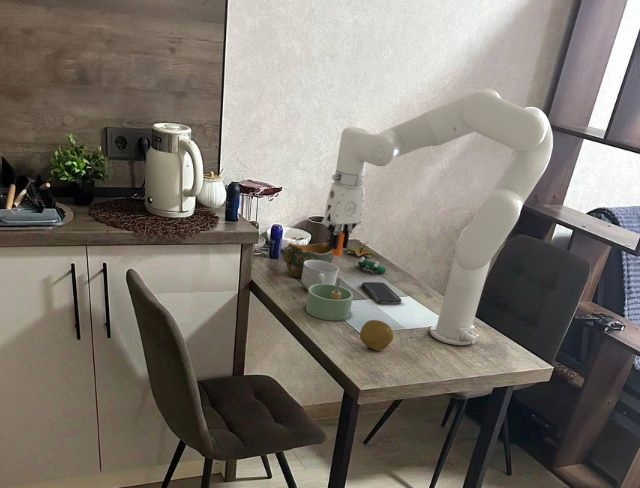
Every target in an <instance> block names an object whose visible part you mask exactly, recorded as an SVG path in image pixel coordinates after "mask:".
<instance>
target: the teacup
mask: <svg viewBox="0 0 640 488" xmlns="http://www.w3.org/2000/svg"><path fill="white" fill-rule="evenodd" d="M339 270H340V268H339V267H338V266H337V265H336V264H334V263H332V262H331V263H328V262H325V261H320V260H307V261H305V262H304V266H303V272H302V278H301V283H302V285H303V287H304V288H305V289H306V290H307V291H308V289H309V287H310V286H312V285H315V284H333V285H336V283H337V279H338V278H337V277H338V274H339Z"/></svg>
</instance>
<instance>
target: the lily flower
mask: <svg viewBox="0 0 640 488" xmlns="http://www.w3.org/2000/svg"><path fill="white" fill-rule="evenodd" d="M357 241H358V244H356V246H350V247H347V248H346V250H348V251H347V252H346V254H354V255H356V256H357V257H361V256H363V257H367V258H372V255H375V256H377V254H376V253H375V250H372V249H368V243H369V242H368V240H367V241H366V242H364V243H362V242H361V240H360V239H358V240H357ZM363 241H364V239H363Z"/></svg>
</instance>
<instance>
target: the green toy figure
mask: <svg viewBox="0 0 640 488" xmlns="http://www.w3.org/2000/svg"><path fill="white" fill-rule="evenodd" d="M357 266H359V267H361V268H362V270H363V271H367V270H369V271H370V273H371V274H374V273H379V274H383V273H386V272H387V269H386V267H385V266H383V265H380V263H379V261H378V260H377V261H375V262H374V261H371V260H367V259H366V258H365V256H361V257H360V258H359V259H358V265H357Z"/></svg>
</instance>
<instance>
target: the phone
mask: <svg viewBox="0 0 640 488" xmlns="http://www.w3.org/2000/svg"><path fill="white" fill-rule="evenodd" d="M361 288H362V289H364V291H365V292H366V293H367V294H369V296H370V297H371V298H372V299H373V300H374V301H375V302H376V303H377V304H379V305H400V304H401V303H402V298H401V297H400V296H398V295H397V293H396V292H394V291H393V290H392V289H391V288H390V287H389V286H388V285H387V284H386V283H384V282H380V281H379V282H377V281H373V282H371V281H363V282H362V283H361Z"/></svg>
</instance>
